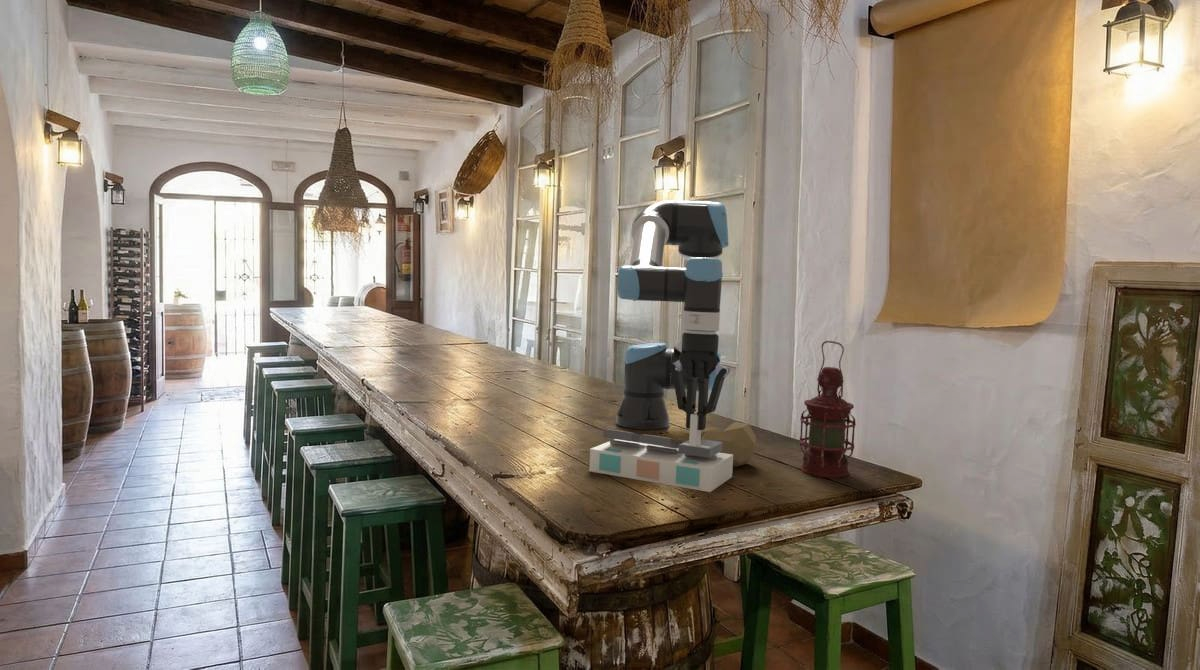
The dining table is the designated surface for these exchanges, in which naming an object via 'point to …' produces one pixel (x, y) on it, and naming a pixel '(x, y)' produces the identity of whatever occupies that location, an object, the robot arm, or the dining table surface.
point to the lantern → (827, 426)
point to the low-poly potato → (735, 441)
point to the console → (661, 465)
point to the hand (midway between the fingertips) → (694, 444)
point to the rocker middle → (660, 441)
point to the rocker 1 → (621, 435)
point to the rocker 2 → (701, 448)
